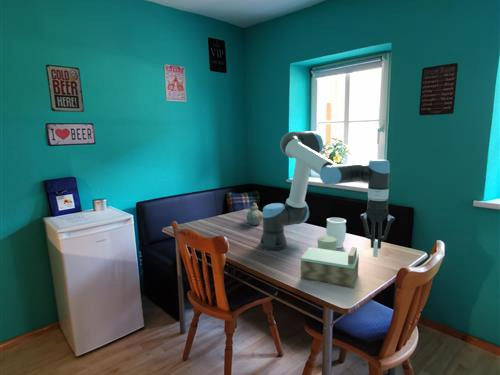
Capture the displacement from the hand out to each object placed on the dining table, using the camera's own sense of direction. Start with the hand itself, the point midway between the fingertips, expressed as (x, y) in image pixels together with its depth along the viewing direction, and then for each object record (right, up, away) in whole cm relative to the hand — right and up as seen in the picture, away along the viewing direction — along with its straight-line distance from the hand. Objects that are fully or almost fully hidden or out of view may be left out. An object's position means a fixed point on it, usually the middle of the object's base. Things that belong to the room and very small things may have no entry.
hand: (375, 255), depth 128 cm
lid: (-16, -3, +9) cm, 19 cm away
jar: (-3, -5, +47) cm, 47 cm away
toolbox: (-16, -11, +10) cm, 22 cm away
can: (-13, -9, +27) cm, 31 cm away
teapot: (-48, +2, +92) cm, 104 cm away
